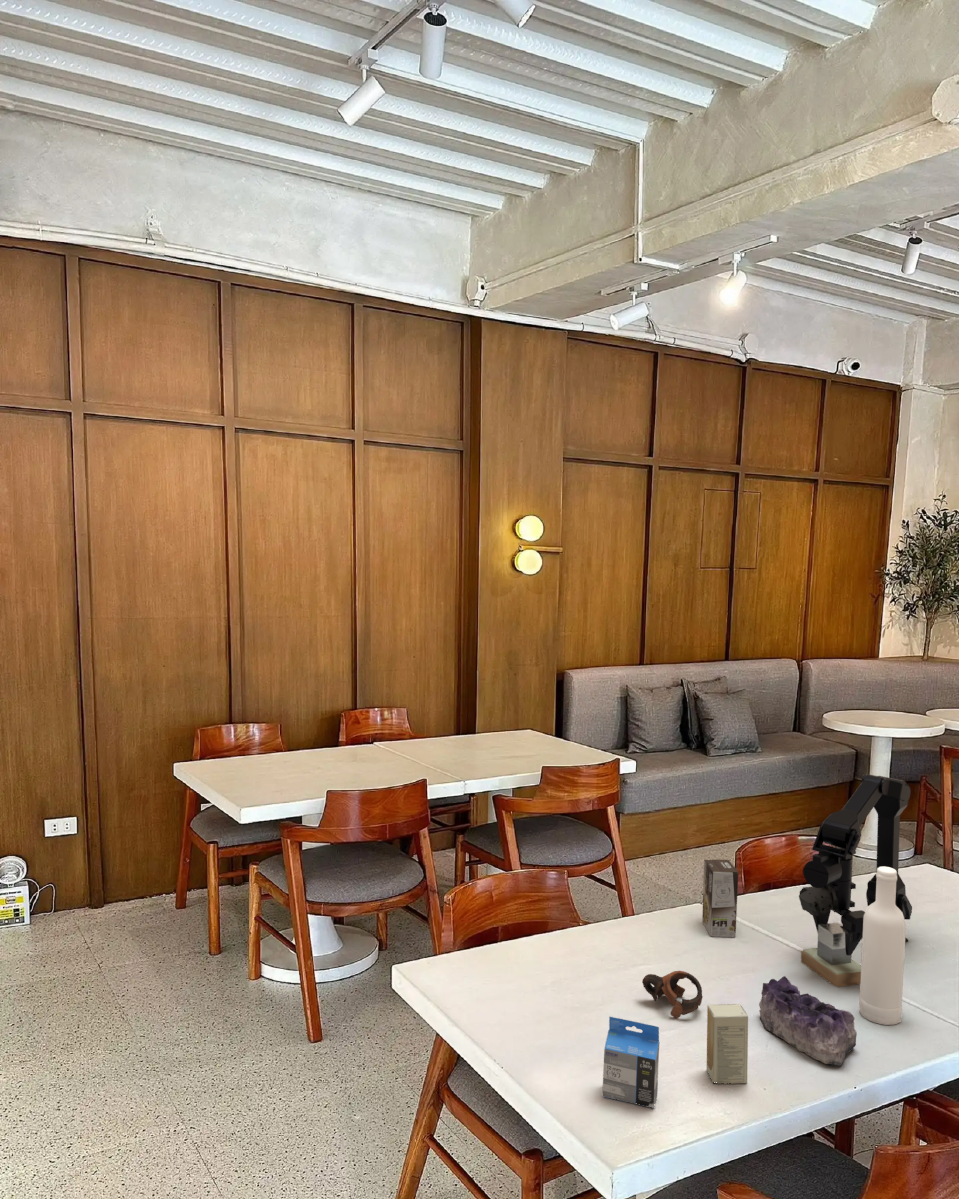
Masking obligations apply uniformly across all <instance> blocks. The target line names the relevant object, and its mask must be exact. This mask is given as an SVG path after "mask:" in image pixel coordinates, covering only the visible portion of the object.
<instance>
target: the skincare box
mask: <svg viewBox="0 0 959 1199" xmlns="http://www.w3.org/2000/svg"><path fill="white" fill-rule="evenodd" d="M706 1008H707V1015H706V1016H707V1018H706V1019H707V1020H706V1023H707V1024H706V1028H707V1029H706V1072H707V1071H708V1072H707V1074H708V1073H709V1074H708V1076H709V1075H710V1076H709V1078H711V1079H712V1081H713V1082H715V1083H716V1082H717V1083H724V1085H726V1084H727V1083H728V1084H729V1083H731V1084H748V1053H749V1052H748V1051H749V1049H748V1047H749V1043H748V1041H749V1015H748V1014H747V1012H746V1011H745V1009H744V1007H743V1005H742V1004H740V1003H738V1004H737V1003H732V1004H729V1003H728V1004H727V1003H724V1004H722V1003H721V1004H707V1006H706ZM711 1079H710V1080H711ZM712 1081H711V1082H712ZM713 1082H712V1083H713Z"/></svg>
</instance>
